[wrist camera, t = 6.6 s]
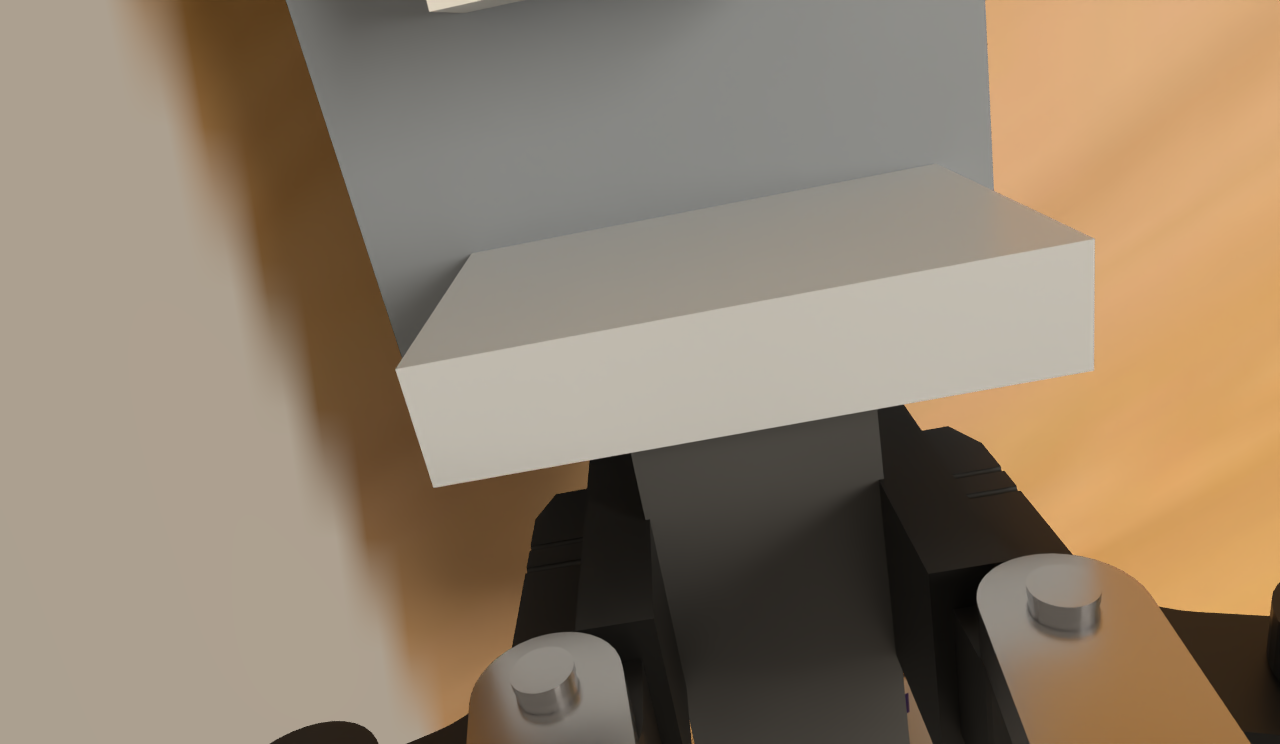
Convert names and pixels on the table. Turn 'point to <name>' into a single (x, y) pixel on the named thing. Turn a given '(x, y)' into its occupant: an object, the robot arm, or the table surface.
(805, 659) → the scraper
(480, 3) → the tile
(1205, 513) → the table surface
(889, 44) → the platform
